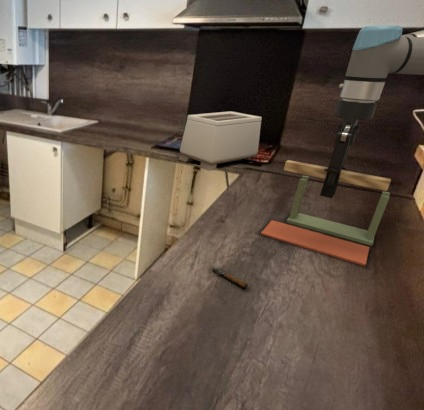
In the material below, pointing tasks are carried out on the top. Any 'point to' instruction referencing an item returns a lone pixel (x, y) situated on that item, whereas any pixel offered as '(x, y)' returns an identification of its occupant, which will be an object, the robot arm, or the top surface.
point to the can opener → (231, 278)
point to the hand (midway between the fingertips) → (327, 194)
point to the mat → (317, 242)
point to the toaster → (220, 138)
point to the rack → (334, 227)
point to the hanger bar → (344, 176)
